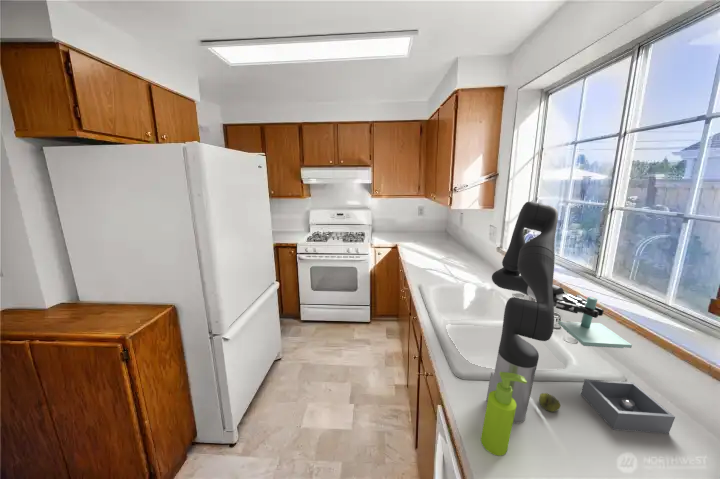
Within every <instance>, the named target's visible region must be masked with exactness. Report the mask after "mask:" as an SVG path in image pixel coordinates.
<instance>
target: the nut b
mask: <svg viewBox="0 0 720 479" xmlns="http://www.w3.org/2000/svg"><path fill="white" fill-rule="evenodd" d="M619 405H620V406H621V407H622V408H623V409H625V410H628V411H633V410H634V407H635V403H634V401H632V400H631V399H629V398H626V397H621V400H620V403H619Z"/></svg>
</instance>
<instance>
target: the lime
mask: <svg viewBox="0 0 720 479" xmlns="http://www.w3.org/2000/svg"><path fill="white" fill-rule="evenodd" d="M538 401H539V404H540V406H541V407H542V409H544V410H546V411H548V412H551V413H552V412H553V413H554V412H557V411H559V409H560V408H561V403H560V402H559V400H558V399H557V398H556V397H555V396H554V395H553V394H550V393H547V392H545V393H543V392H542V393H540V394H539V397H538Z"/></svg>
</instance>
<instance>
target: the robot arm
mask: <svg viewBox="0 0 720 479" xmlns="http://www.w3.org/2000/svg"><path fill="white" fill-rule="evenodd" d="M517 216H518V217H517V219H516V222H515V225H514V228H513V232H512V234H511V239H510V242H509V245H508V248H507V250H506V252H505V255H504V256H503V258H502V262H501V264H502V267H501V268H500V269H498V270H496V271H495V272H493V273H492V275H491V281H492V283H493V284H494V285H495V286H497V287H498V288H500V289H504V290H509V291H514V292H519V293H521V294H523V295H526V296H529V297H531V298H532V299H534V300H535V301H534V300H528V299H525V298H521V297H514V296H512V297H510V298H508V300H507V301H506V303H505V307H504V311H503V312H504V313H503V320H502V321H503V322H502V330H501V334H500V335H501V337H500V341H499V346H498V351H497V355H496V362H495V367H494V372H493V371H492V372H490V376H489V382H488V387H487V394H486V402H488V397H489V393H490V392H491V391H496V387H497V384H498V383H499V382H502V379H501V377H500V374H499V373H500V372H508V373H514V374H518V375H521V376H523V377H525V379H526V381H527V383H526V384H524V383H521V382H517V381H510V386H511V387H512V389H513V393H512V398H513V399H514V400H515V402H516V405H517V406H516V411H515V416H514V420H513V424H520V423H522V422H524V421H525V419H526V415H527V412H528V407H529V403H530V397H531V395H532V394H531V393H532V389H533V383H534V380H535V377H536V371H537V367H538V362H539V358H540V357H539V351H538V349H536V347H535V346H534V345H532V344H531V343H530V342H529V341H527V340H525V339H524V338H522V337H525V338H528V339H532V340H536V341H540V342H541V341H542V342H547V341H549V340H550V339H551V338H552V336H553V333H554V328H555V327H554V326H555V310H554V309H555V308H556V309H557V310H558V309H559V310H562V311H566V312H569V313H573V314H578V313H580V314H583V313H584V314H587V315H589V316H592V317H593V319H597V318H598V317H600V316H603V315H604V312H605V311H604V309H602V308H600V307H598V306H596V307H595V310H594V309H591V308H588V307H585V305H586V302H587V298H585V297H584V296H581V295H580V294H576V296H574V295H573V294H570V293H565V291H564V288H563V287H561V286H559V285H555V284H554V273H555V258H556V257H555V243H556V242H555V241H556V240H555V239H556V232H557V227H558V226H557V225H558V219H559V212H558V209H557V208H556V207H554V206H553V205H549V204H548V205H547V204H544V203H539V202H535V201H527V202H525V203H524V204H523V205H522V207H521V209H520V212H519V214H518V215H517ZM525 229H528V230H532V231H537V232H540V233H539V234H538V235H537V236H535V237H533V238H531V239H529V240H528V241H527V242H526V241H525V236H524V230H525Z"/></svg>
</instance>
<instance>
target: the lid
mask: <svg viewBox="0 0 720 479" xmlns="http://www.w3.org/2000/svg"><path fill="white" fill-rule="evenodd" d="M586 299H587V302H586V305H585V307H588V308H591V309H594V310H595V307H597V302H598V299H597V298H596V297H593V296H587V298H586ZM593 319H594V317H592V316H589V315H587V314H584V313H582V317H581V321H565V320H558V322H557V323H558V325H559V326H560V327H561V328H562V329H563V330H565V331H566V332H567V333H568V334H569V335H570V336H572V338H574V339H575V341H577V342H578V343H580V344H581V345H582V346H583V347H597V348H614V349H625V348H626V349H627V348H629V349H632V346H633V344H632V343H630V342H628V341H627V340H626V339H624V338H622V337H621V336H620V335H619V334H617V333H615V332H614V331H613V330H611V329H609V327H607V326H606V325H604V324H602V323H601V322H592V321H593Z"/></svg>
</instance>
